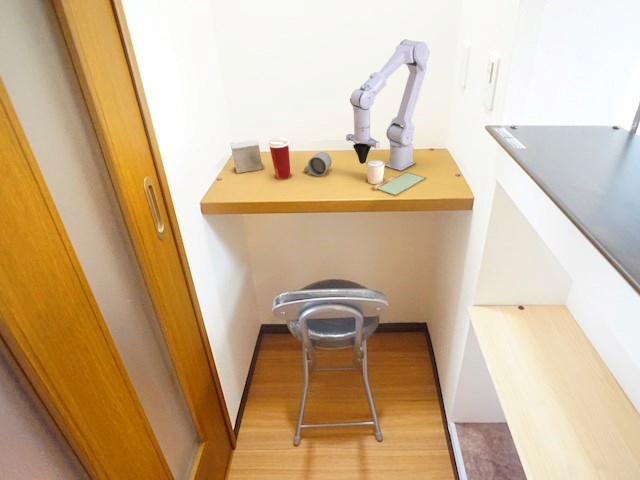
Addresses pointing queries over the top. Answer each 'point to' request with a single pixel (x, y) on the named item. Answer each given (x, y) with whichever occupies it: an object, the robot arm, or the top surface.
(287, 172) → the paper cup
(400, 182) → the mat
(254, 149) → the grey concrete block
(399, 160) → the robot arm
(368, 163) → the beige short cylinder
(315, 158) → the ceramic mug
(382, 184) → the stop batten
